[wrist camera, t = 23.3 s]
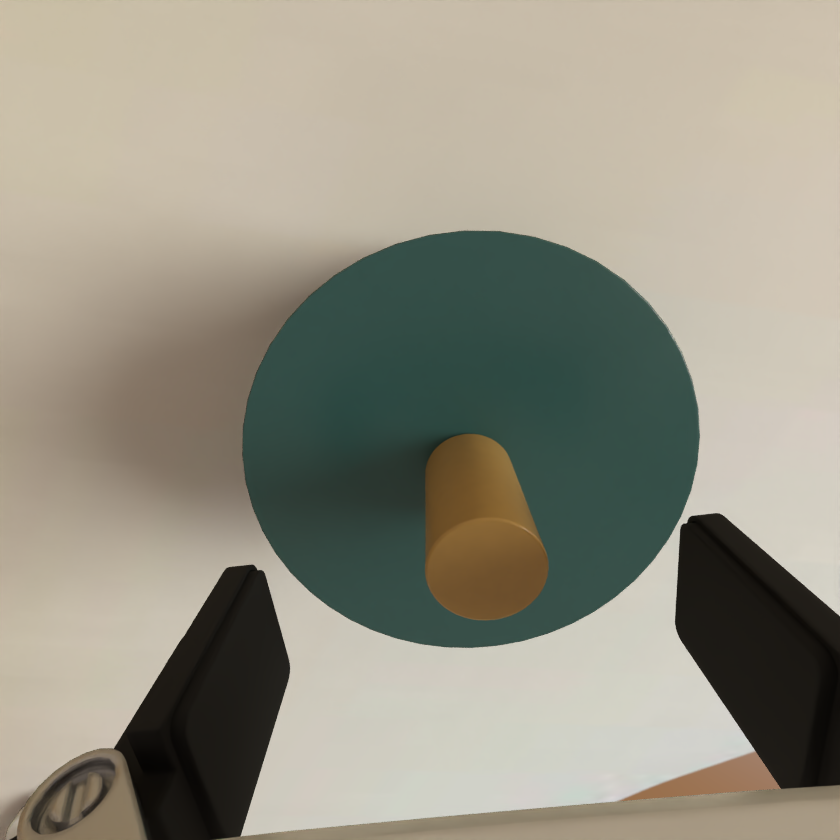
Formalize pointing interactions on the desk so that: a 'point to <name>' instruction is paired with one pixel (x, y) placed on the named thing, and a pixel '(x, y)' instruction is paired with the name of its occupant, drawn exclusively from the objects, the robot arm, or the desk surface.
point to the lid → (470, 439)
